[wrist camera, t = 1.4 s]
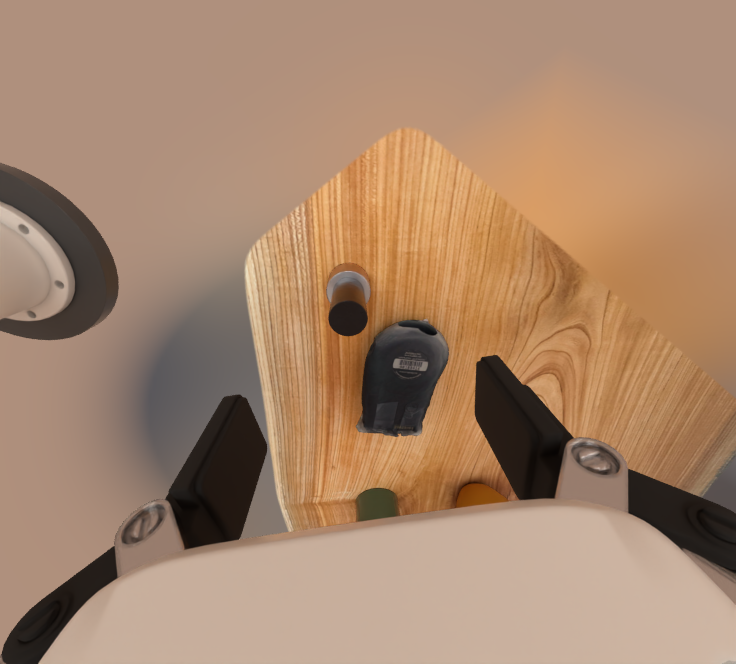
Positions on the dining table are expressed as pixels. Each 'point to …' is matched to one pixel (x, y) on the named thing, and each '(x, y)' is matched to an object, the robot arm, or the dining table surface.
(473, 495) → the apple
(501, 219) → the dining table surface
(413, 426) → the electronic device
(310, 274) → the dining table surface
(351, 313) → the torch
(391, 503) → the bottle
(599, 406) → the dining table surface
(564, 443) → the robot arm
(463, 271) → the dining table surface
